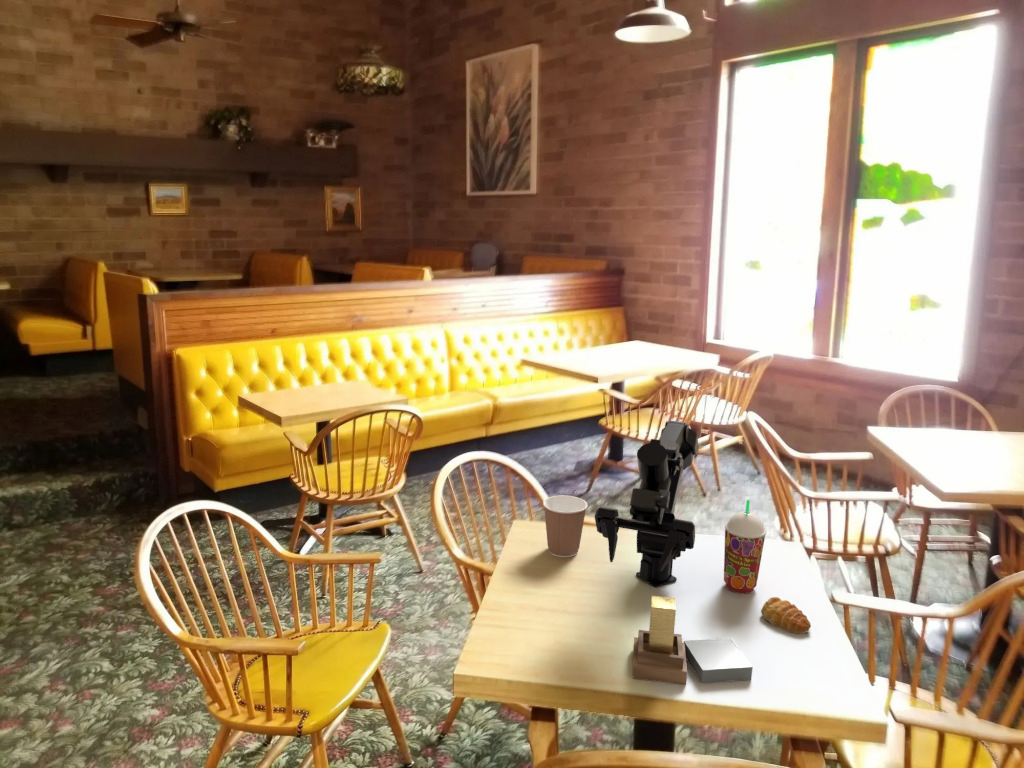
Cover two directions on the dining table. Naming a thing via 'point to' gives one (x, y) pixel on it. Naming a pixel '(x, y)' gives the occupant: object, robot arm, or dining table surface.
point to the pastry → (785, 616)
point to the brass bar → (662, 625)
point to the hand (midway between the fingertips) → (635, 565)
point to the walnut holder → (659, 661)
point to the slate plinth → (717, 660)
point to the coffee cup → (564, 524)
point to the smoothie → (743, 551)
